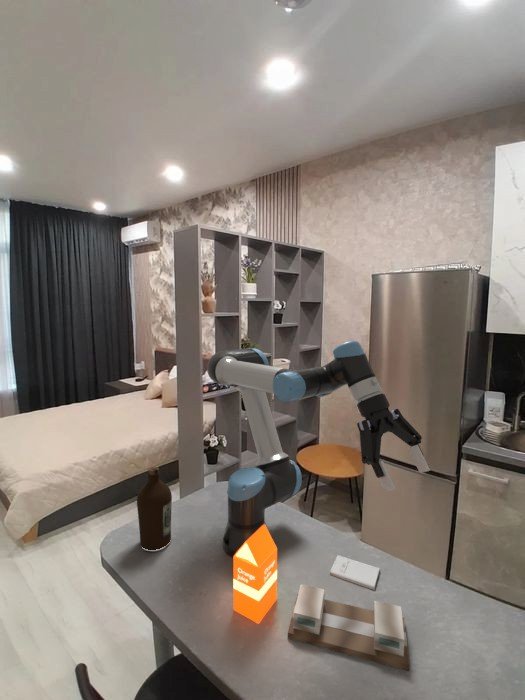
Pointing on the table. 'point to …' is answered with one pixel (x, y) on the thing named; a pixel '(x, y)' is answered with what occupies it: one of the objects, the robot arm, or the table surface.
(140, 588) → the table surface
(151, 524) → the olive oil
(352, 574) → the external hard drive
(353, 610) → the rail board
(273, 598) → the orange juice
